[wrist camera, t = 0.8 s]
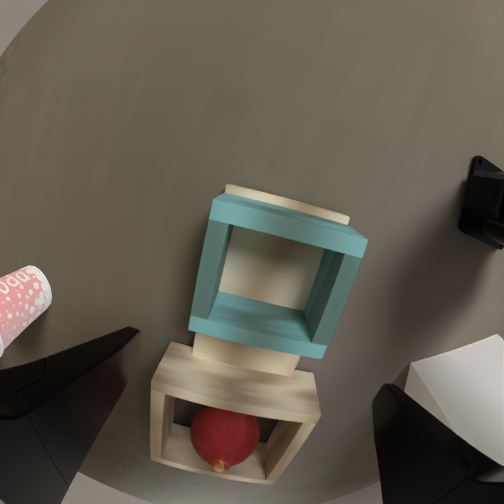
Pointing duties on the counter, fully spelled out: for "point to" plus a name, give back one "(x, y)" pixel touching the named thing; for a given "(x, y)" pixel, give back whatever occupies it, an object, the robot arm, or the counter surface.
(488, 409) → the milk
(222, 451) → the onion
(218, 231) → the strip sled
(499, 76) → the counter surface
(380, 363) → the counter surface
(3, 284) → the beverage cup
